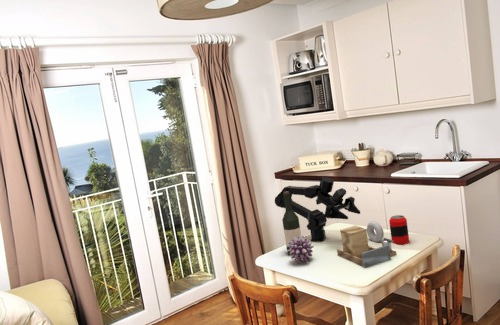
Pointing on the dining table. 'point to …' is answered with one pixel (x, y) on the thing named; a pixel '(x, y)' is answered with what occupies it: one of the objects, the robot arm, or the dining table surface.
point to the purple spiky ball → (300, 248)
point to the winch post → (388, 242)
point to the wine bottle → (290, 222)
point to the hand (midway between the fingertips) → (354, 215)
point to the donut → (371, 233)
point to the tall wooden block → (354, 240)
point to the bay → (368, 256)
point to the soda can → (399, 230)
